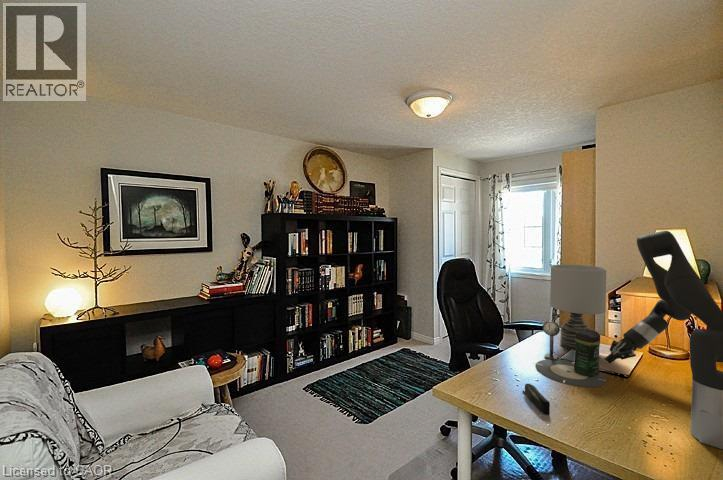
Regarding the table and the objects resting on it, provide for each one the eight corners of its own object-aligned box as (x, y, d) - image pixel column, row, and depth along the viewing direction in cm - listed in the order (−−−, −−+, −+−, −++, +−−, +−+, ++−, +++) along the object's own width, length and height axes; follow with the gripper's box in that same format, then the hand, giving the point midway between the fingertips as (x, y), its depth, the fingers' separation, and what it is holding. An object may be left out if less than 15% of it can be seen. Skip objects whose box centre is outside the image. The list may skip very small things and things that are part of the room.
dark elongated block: (551, 401, 108) (528, 379, 123) (543, 401, 108) (520, 379, 123) (551, 415, 109) (527, 391, 124) (542, 415, 109) (520, 391, 124)
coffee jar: (591, 379, 132) (592, 335, 132) (571, 371, 139) (571, 330, 139) (602, 373, 137) (603, 331, 136) (582, 366, 144) (583, 326, 143)
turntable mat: (603, 394, 121) (603, 393, 121) (528, 373, 139) (528, 373, 139) (608, 370, 141) (608, 369, 141) (542, 355, 158) (542, 354, 158)
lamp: (594, 360, 151) (596, 272, 149) (541, 345, 171) (542, 267, 169) (611, 348, 165) (613, 267, 164) (561, 335, 185) (562, 263, 183)
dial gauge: (558, 361, 150) (559, 323, 150) (542, 357, 155) (542, 320, 154) (560, 358, 154) (561, 320, 153) (544, 354, 159) (544, 318, 158)
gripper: (659, 347, 127) (623, 375, 130) (637, 336, 140) (605, 361, 143) (643, 333, 127) (608, 361, 130) (623, 323, 140) (592, 349, 143)
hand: (607, 361), depth 137 cm, fingers closed
